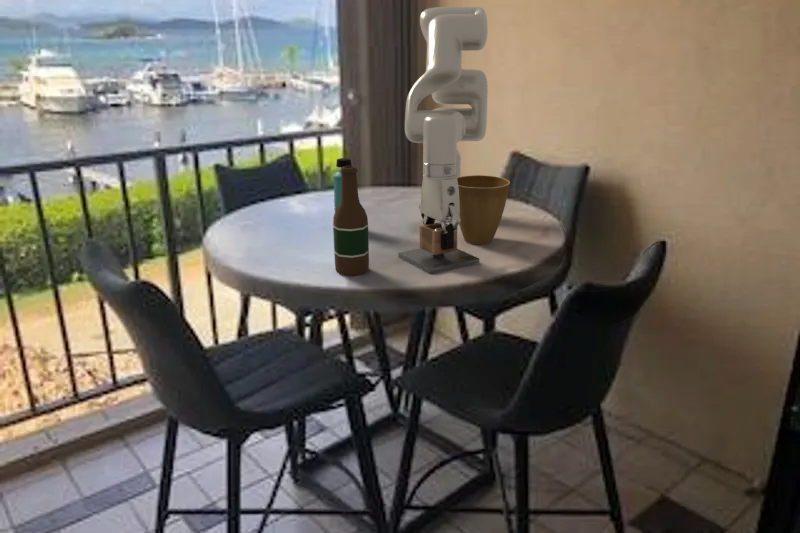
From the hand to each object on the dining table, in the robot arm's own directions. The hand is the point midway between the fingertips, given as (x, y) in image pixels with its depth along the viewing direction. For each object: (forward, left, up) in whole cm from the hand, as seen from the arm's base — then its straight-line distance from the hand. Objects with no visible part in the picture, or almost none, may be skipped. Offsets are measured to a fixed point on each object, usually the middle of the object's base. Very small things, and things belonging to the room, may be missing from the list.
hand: (438, 244), depth 149 cm
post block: (0, 0, -4) cm, 4 cm away
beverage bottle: (+7, -36, -4) cm, 37 cm away
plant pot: (-18, -8, -4) cm, 20 cm away
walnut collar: (0, 0, -1) cm, 1 cm away
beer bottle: (+21, -4, -4) cm, 22 cm away
